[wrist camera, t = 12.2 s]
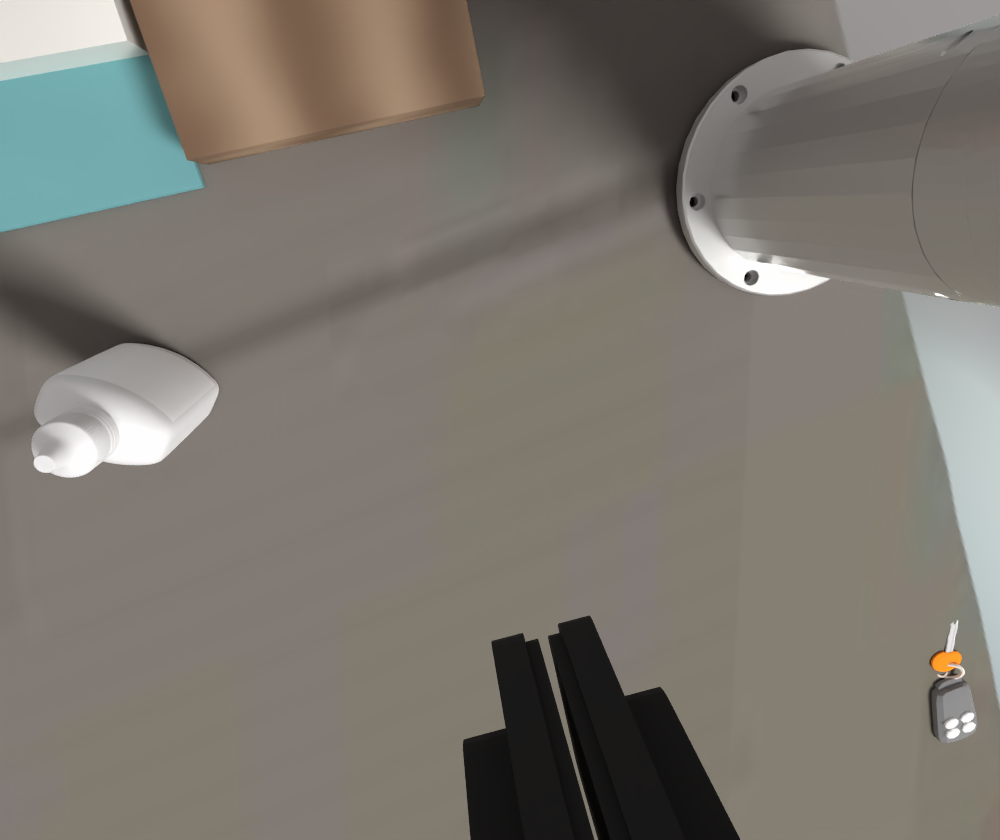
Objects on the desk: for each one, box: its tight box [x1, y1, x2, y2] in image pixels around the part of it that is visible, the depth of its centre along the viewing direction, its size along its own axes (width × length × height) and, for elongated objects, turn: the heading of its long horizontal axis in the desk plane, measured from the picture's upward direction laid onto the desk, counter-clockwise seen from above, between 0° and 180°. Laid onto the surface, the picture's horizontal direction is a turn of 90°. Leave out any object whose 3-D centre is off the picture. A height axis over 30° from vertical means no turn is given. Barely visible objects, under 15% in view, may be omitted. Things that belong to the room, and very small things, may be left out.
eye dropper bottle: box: [31, 343, 219, 478], centre depth 28 cm, size 4×6×12 cm
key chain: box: [931, 620, 978, 743], centre depth 49 cm, size 13×4×2 cm, turn 21°
